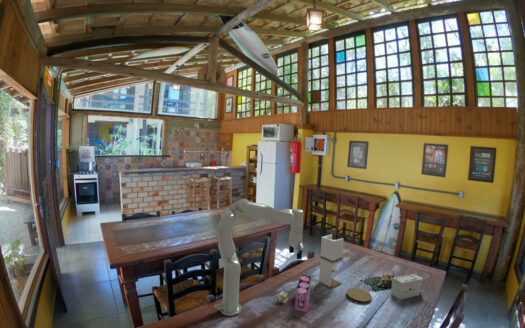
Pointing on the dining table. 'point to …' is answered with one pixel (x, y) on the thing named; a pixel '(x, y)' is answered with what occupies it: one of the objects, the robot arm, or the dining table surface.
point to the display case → (330, 260)
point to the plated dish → (380, 282)
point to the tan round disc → (359, 295)
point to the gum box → (303, 293)
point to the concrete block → (406, 286)
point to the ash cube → (283, 297)
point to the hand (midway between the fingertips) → (295, 255)
